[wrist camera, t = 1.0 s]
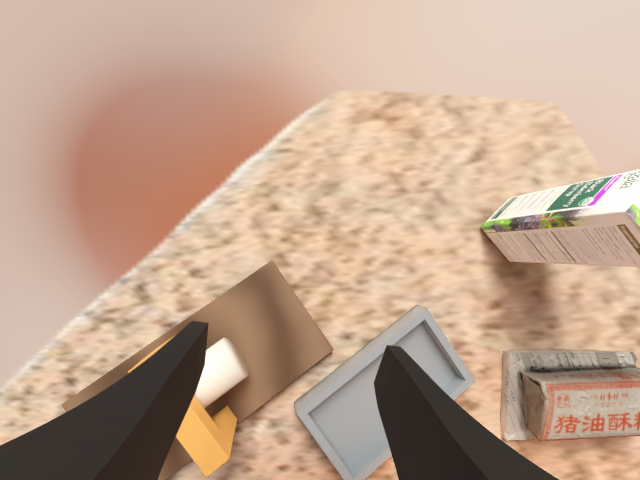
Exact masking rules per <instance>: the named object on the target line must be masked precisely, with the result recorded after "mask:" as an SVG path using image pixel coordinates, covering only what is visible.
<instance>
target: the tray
mask: <svg viewBox="0 0 640 480" xmlns="http://www.w3.org/2000/svg"><path fill="white" fill-rule="evenodd" d="M386 345H391V346H399V347H401V348H402V349H403V350H405V351H406V352H407V354H408V355H409V356H410V357H411V358H412V359H413V360H414V361H415V362H416V363H417V364H418V365H419V366H420V367H421V368H422V369H423V370H424V371H425V372H426V373H427V374H428V375H429V376H430V378H431V379H432V380H433V381H434V382H435V383H436V384H437V385H438V386H439V387H440V388H441V389H442V390H443V391H444V392H445V393H446V394H447V395H448V396H450V397H451V398H452V399H453V400H455V399H456V398H457V397H458V396H460V395H461V394H462V393H463V392H464V391H465V390H466V389H467V388H469V387H470V386H471V385H472V384H473V383H474V382H475V380H474V379H473V377H472V376H471V374H470V373H469V371H468V370H467V368H466V367H465V365H464V364H463V362H462V361H461V359H460V358H459V356H458V355H457V353H456V352H455V350H454V349H453V347H452V346H451V344H450V343H449V341H448V340H447V338H446V337H445V335H444V334H443V332H442V330H441V329H440V327H439V326H438V324H437V323H436V321H435V320H434V318H433V317H432V315H431V314H430V312H429V311H428V309H427V308H425V307H422V306H419V305H416V306H415V307H414V308H413V309H411V310H410V311H409V312H408V313H406V314H405V315H404V316H403V317H401V318H400V319H399V320H397V321H396V322H395V323H394V324H392V325H391V326H390V327H389V328H387V329H386V330H385V331H384V332H382V333H381V334H380V335H378V336H377V337H376V338H375V339H373V340H372V341H371V342H370V343H368V344H367V345H366V346H365V347H363V348H362V349H361V350H359V351H358V352H357V353H356V354H354V355H353V356H352V357H351V358H349V359H348V360H347V361H346V362H344V363H343V364H342V365H341V366H339V367H338V368H337V369H335V370H334V371H333V372H332V373H330V374H329V375H328V376H327V377H325V378H324V379H323V380H322V381H320V382H319V383H318V384H316V385H315V386H314V387H313V388H311V389H310V390H309V391H308V392H306V393H305V394H304V395H303V396H301V397H300V398H299V399H297V400H296V401H295V402H294V405H295V411H296V413H297V415H298V416H299V418H300V419H301V420H302V422H303V423H304V425H305V426H306V427H307V429H308V430H309V432H310V433H311V435H312V436H313V437H314V439H315V440H316V442H317V443H318V444H319V446H320V447H321V449H322V450H323V451H324V453H325V454H326V456H327V457H328V458H329V460H330V461H331V463H332V464H333V465H334V467H335V468H336V470H337V471H338V472H339V474H340V475H341V477H342V478H343V479H344V480H365V479H366V478H367V477H368V476H369V475H370V474H371V473H372V472H374V471H375V470H376V469H377V468H378V467H379V466H380V465H381V464H383V463H384V462H385V461H386V460H387V459H388V458H389V457H391V456H392V454H391V450H390V447H389V444H388V440H387V437H386V434H385V431H384V427H383V424H382V420H381V417H380V414H379V410H378V406H377V400H376V395H375V388H374V380H375V377H376V374H377V371H378V369H379V366H380V363H381V360H382V357H383V354H384V351H385V348H386Z"/></svg>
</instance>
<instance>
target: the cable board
mask: <svg viewBox="0 0 640 480" xmlns="http://www.w3.org/2000/svg"><path fill="white" fill-rule="evenodd" d="M191 321H198V322H206V323H209V324H208V335H207V346H206V350H207V349H208V348H210V347H211V346H213V345H214V344H215V343H217V342H218V341H220V340H221V339H222V338H227V339H229V340H230V341H231V342H232V343H233V344H234V345H235V346H236V348H237V349H238V350H239V352H240V353H241V355H242V357H243V359H244V361H245V363H246V365H247V368H248V376H247V377H246V378H244V379H243V380H242V381H240V382H239V383H238V384H236V385H235V386H234V387H232V388H231V389H230V390H228V391H227V392H226V393H224V394H223V395H222V396H220V397H219V398H218V399H216V400H215V401H214V402H212V403H211V404H210V405H208V406H207V407H206V408H204V409H205V410H206V412H207V413H208V414H209V416H210V417H213V416H214V415H215V414H217V413H218V412H219V411H221V410H222V409H223V408H225V407H226V406H228V407H229V408H230V410H231V411H232V412H233V414H234V415H235V417H236V418H237V423H236V425H237V424H238V423H240V422H241V421H242V420H243V419H245V418H246V417H247V416H249V415H250V414H251V413H252V412H254V411H255V410H256V409H258V408H259V407H260V406H261V405H263V404H264V403H265V402H267V401H268V400H269V399H271V398H272V397H273V396H274V395H276V394H277V393H278V392H280V391H281V390H282V389H283V388H285V387H286V386H287V385H289V384H290V383H291V382H292V381H294V380H295V379H296V378H298V377H299V376H300V375H301V374H303V373H304V372H305V371H307V370H308V369H309V368H310V367H312V366H313V365H314V364H316V363H317V362H318V361H320V360H321V359H322V358H323V357H325V356H326V355H327V354H329V353H330V352H331V351H332V350H334V349H333V348H332V346H331V345H330V343H329V342H328V340H327V339H326V337H325V336H324V335H323V333H322V332H321V330H320V329H319V327H318V326H317V324H316V323H315V322H314V320H313V319H312V317H311V316H310V314H309V313H308V311H307V310H306V309H305V307H304V306H303V304H302V303H301V301H300V300H299V298H298V297H297V296H296V294H295V293H294V291H293V290H292V288H291V287H290V285H289V284H288V283H287V281H286V280H285V278H284V277H283V275H282V274H281V273H280V271H279V270H278V268H277V267H276V265H275V264H274V262H273V261H270V262H269V263H268V264H266V265H265V266H263V267H262V268H260V269H259V270H257V271H256V272H254V273H253V274H251V275H250V276H249V277H247V278H246V279H244V280H243V281H241V282H240V283H238V284H237V285H235V286H234V287H232V288H231V289H230V290H228V291H227V292H225V293H224V294H222V295H221V296H219V297H218V298H216V299H215V300H213V301H212V302H211V303H209V304H208V305H206V306H205V307H203V308H202V309H200V310H199V311H197V312H196V313H194V314H193V315H192V316H190V317H189V318H187V319H186V320H184V321H183V322H181V323H180V324H178V325H177V326H175V327H174V328H173V329H171V330H170V331H168V332H167V333H165V334H164V335H162V336H161V337H159V338H158V339H156V340H155V341H154V342H152V343H151V344H149V345H148V346H146V347H145V348H143V349H142V350H140V351H139V352H137V353H136V354H135V355H133V356H132V357H130V358H129V359H127V360H126V361H124V362H123V363H121V364H120V365H118V366H117V367H116V368H114V369H113V370H111V371H110V372H108V373H107V374H105V375H104V376H102V377H101V378H99V379H98V380H97V381H95V382H94V383H92V384H91V385H89V386H88V387H86V388H85V389H83V390H82V391H80V392H79V393H78V394H76V395H75V396H73V397H72V398H70V399H69V400H67V401H66V402H65V403H63V404H62V406H63V408H64V409H65V410H66V411H67V412H68V411H69V410H71V409H73V408H75V407H77V406H78V405H80V404H82V403H83V402H85V401H87V400H88V399H90V398H92V397H94V396H95V395H97V394H98V393H100V392H101V391H103V390H105V389H106V388H108V387H109V386H111V385H112V384H114V383H115V382H117V381H118V380H120V379H121V378H122V377H124V376H125V375H127V374H128V371H129V370H130V369H132V368H133V367H134V366H135V365H136V364H138V363H139V362H140V361H141V360H142V359H144V358H145V357H146V356H147V355H149V354H150V353H151V352H152V351H153V350H155V349H156V348H157V347H159V346H160V345H161V344H163V343H164V342H166V341H167V340H169V339H170V338H172V337H173V336H175V335H176V334H178V333H179V332H180V331H181V330H182V329H183V328H184V327H185V326H186V325H187V324H188V323H190V322H191ZM191 460H192V458H191V456H190V455H189V454H188V452H187V451H186V450H185V448H184V447H183V446H182V444H181V443H180V442H179V440H178V439H177V438H176V437H175V439H174V441H173V443H172V446H171V448H170V450H169V452H168V454H167V457H166V459H165V462H164V464H163V467H162V469H161V472H160V475H159V477H158V480H166V479H167V478H169V477H170V476H171V475H172V474H174V473H175V472H176V471H178V470H179V469H180V468H181V467H183V466H184V465H185V464H187V463H188V462H189V461H191Z"/></svg>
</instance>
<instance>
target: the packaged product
mask: <svg viewBox="0 0 640 480" xmlns="http://www.w3.org/2000/svg"><path fill="white" fill-rule="evenodd" d="M636 360H637V358H636V356H635V354H634V353H633V352H627V351H595V350H565V349H532V350H507V351H503V356H502V388H501V420H500V424H501V436H502V437H503V438H504V439H505V440H506V441H509V440H530V439H536V440H539V441H550V440H572V439H585V438H604V437H625V436H640V368H637V367H635V363H636Z"/></svg>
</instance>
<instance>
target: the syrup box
mask: <svg viewBox="0 0 640 480" xmlns="http://www.w3.org/2000/svg"><path fill="white" fill-rule="evenodd" d="M481 229H482V230H483V231H484V232H485V233H486V235H487V236H488V237H489V238H490V239H491V241H492V242H493V243H494V244H495V245H496V247H497V248H498V249H499V250H500V251H501V252H502V253H503V255H504V256H505V257H506V258H507V259H508V260H509V261H510V262H532V263H555V264H580V265H604V266H627V267H640V169H639V170H635V171H630V172H625V173H621V174H616V175H612V176H607V177H602V178H598V179H593V180H589V181H584V182H579V183H575V184H570V185H566V186H561V187H556V188H551V189H547V190H543V191H538V192H534V193H529V194H525V195H520V196H515V197H511V198H509V199H508V200H507V201H506V202H505V203H504V204H503V205H502V206H501V207H500V208H499V209H498V210H497V211H496V212H495V213H494V214H493V215H492V216H491V217H490V218H489V219H488V220H487V221H486V222H485V223H484V224H483V225H482V226H481Z"/></svg>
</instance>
